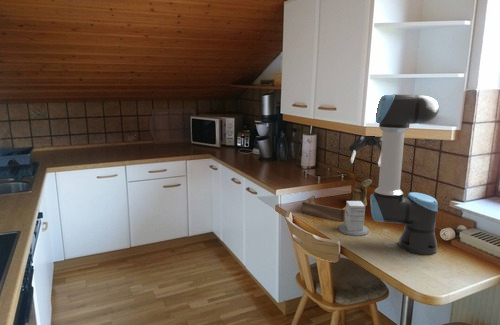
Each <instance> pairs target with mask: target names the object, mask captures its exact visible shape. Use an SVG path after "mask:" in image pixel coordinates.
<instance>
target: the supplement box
mask: <svg viewBox="0 0 500 325" xmlns="http://www.w3.org/2000/svg"><path fill="white" fill-rule="evenodd" d="M345 203H346V204H345V206H346V216H345V221H344V223H345V226H346V227H347V229H348V231H363V227H364V226H365V225H364V223H365V216H366V215H365V214H366V213H365V212H366V206H364V204H363V203H362V202H361V201H352V200H346V202H345Z"/></svg>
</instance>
